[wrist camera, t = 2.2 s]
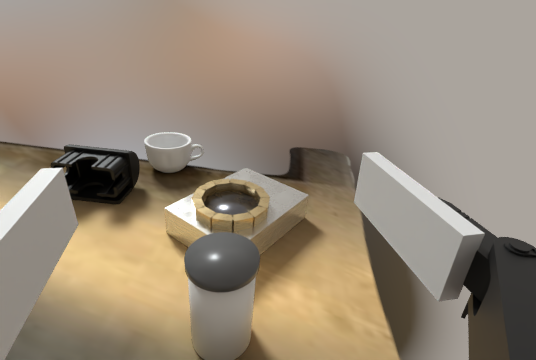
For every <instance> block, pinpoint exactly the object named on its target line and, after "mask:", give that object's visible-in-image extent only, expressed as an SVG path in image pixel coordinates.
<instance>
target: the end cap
mask: <svg viewBox="0 0 536 360" xmlns="http://www.w3.org/2000/svg"><path fill="white" fill-rule="evenodd" d="M64 150H65V154H64V155H63V156H61V157H60V158H58V159H57V160H55V161H54V162H52V163H51V168H64V167H65V166H66V168H67V170H66V173H65V174H64V175H65V179H66V182H67V186H68V189H69V193H70V196H71V199H73V200H82V201H91V202H99V203H108V204H120V203H121V202H122V201H123V200H124V199H125V197H126V196H127V195H128V194H129V193H130V192H131V190H132V189H133V187H134V186H135V184H136V182H137V180H138V176H139V159H138V157H137V155H136V153H134V152H132V151H124V150H116V149H107V148H97V147H88V146H79V145H66V146H64Z"/></svg>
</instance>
